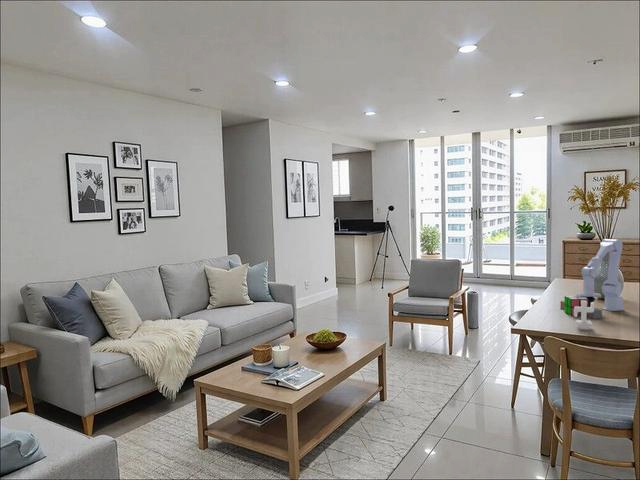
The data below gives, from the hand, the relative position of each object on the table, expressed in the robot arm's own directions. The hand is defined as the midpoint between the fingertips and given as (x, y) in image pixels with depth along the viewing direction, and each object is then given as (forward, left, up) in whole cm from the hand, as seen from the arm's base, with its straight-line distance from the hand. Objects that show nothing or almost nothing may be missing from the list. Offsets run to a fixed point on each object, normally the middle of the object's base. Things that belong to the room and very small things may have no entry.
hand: (588, 309), depth 285 cm
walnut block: (+5, -13, -3) cm, 14 cm away
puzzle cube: (+8, 0, -2) cm, 8 cm away
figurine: (+25, +32, -3) cm, 41 cm away
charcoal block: (+3, +10, -3) cm, 11 cm away
